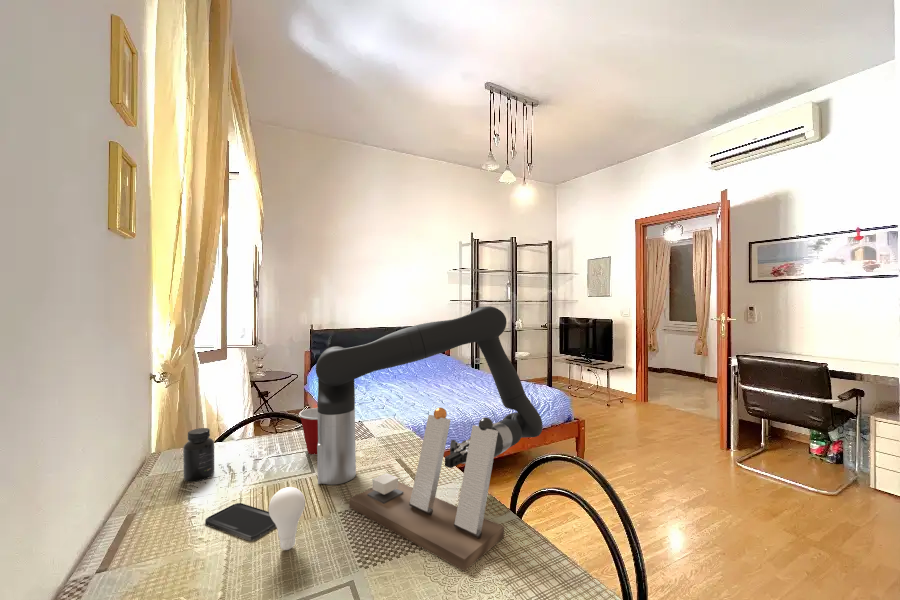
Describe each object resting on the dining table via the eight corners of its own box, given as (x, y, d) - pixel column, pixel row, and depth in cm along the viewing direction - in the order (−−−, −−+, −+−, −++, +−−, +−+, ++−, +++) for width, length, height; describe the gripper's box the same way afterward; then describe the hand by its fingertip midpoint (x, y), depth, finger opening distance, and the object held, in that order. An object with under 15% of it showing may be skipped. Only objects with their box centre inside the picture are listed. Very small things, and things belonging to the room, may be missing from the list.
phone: (237, 502, 87) (286, 517, 80) (238, 507, 86) (286, 522, 80) (202, 520, 79) (251, 538, 73) (202, 525, 79) (251, 544, 73)
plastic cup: (330, 458, 112) (329, 416, 112) (293, 458, 112) (292, 417, 112) (341, 444, 123) (341, 406, 123) (307, 444, 123) (307, 406, 123)
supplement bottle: (177, 480, 100) (176, 433, 100) (202, 469, 106) (202, 425, 106) (195, 484, 97) (194, 436, 97) (220, 473, 103) (220, 427, 103)
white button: (386, 486, 89) (386, 472, 89) (398, 491, 86) (398, 477, 86) (372, 492, 86) (372, 479, 86) (384, 498, 83) (384, 484, 83)
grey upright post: (459, 526, 74) (479, 415, 79) (483, 537, 70) (502, 420, 76) (450, 527, 72) (471, 414, 77) (474, 539, 68) (495, 419, 74)
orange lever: (415, 505, 82) (436, 406, 87) (434, 514, 78) (455, 410, 83) (405, 506, 80) (427, 404, 85) (425, 515, 76) (447, 408, 81)
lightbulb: (292, 562, 67) (291, 498, 67) (261, 558, 68) (260, 495, 68) (312, 540, 73) (311, 482, 73) (283, 537, 74) (282, 479, 74)
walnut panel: (391, 486, 94) (391, 477, 94) (504, 536, 73) (503, 524, 73) (349, 507, 85) (349, 496, 85) (464, 571, 64) (464, 556, 64)
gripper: (470, 421, 103) (425, 439, 90) (513, 431, 95) (470, 453, 81) (470, 449, 103) (425, 471, 90) (514, 462, 95) (471, 489, 81)
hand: (447, 462), depth 86 cm, fingers closed
